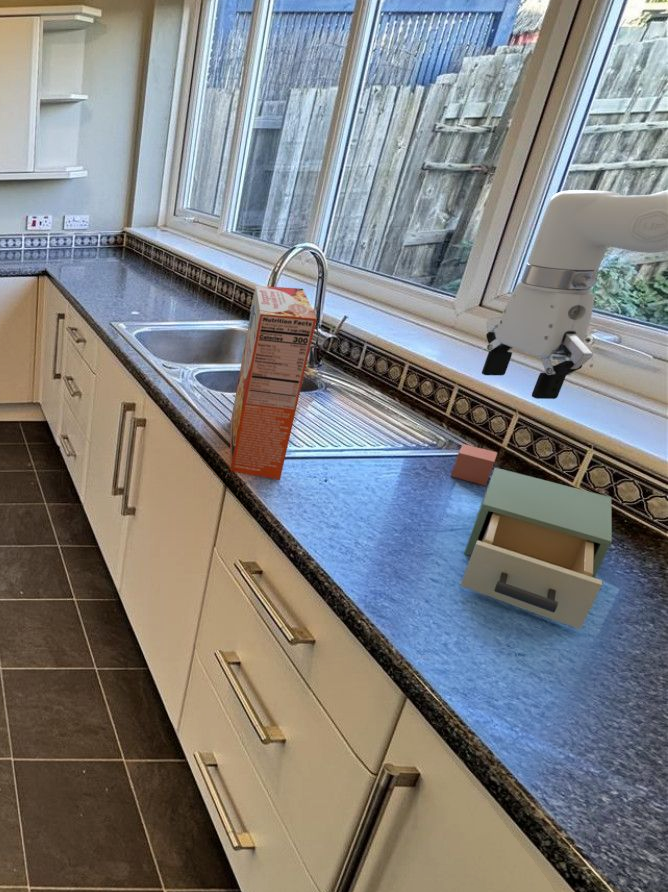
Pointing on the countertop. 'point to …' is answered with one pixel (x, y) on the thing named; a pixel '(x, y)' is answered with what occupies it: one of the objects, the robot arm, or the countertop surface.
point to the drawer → (534, 569)
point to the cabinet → (546, 510)
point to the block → (474, 464)
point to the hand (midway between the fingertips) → (517, 385)
